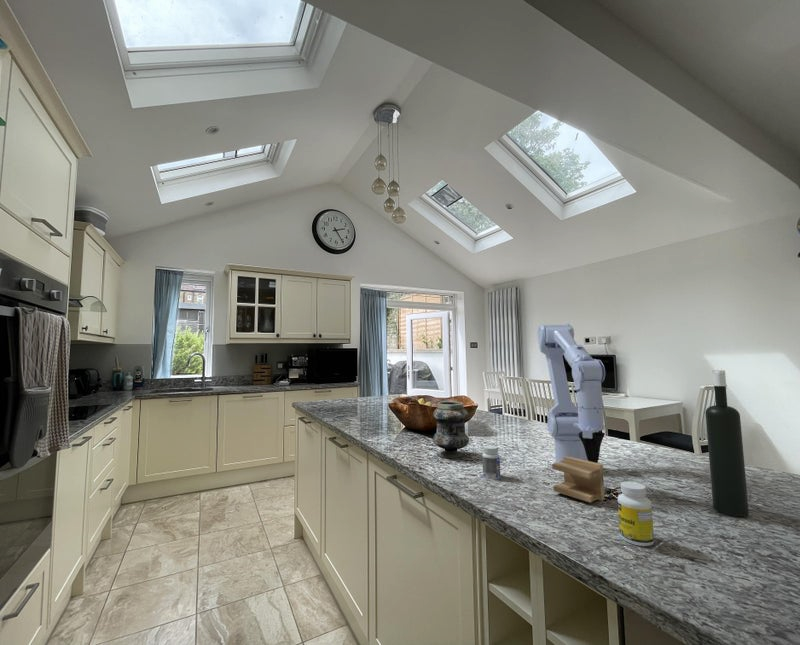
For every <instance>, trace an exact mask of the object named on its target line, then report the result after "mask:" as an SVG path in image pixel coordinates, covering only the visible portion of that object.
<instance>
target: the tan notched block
mask: <svg viewBox="0 0 800 645" xmlns="http://www.w3.org/2000/svg"><path fill="white" fill-rule="evenodd" d="M551 465H552V468H551V469H552V470H554V471H558V472H562V473H563V478H564V479H563V480H564V481H563V482H560V483H558V484H554V485H553V486H552V487H553V492H555V493H558V494H562V495H564V496H569V497H571V498H574V499H577V500H581V501H585V502H587V503H592V502H594V501H596V500H597V501H601V502H602V501H604V500H605V483H604V480H605V479H604V466H603V464H602V463H595V462H590V461H586V460H581V459H577V458H573V457H568V456H565V457H563V461H560V462H557V463H556V462H555V463H552V464H551Z"/></svg>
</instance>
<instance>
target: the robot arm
mask: <svg viewBox="0 0 800 645" xmlns="http://www.w3.org/2000/svg"><path fill="white" fill-rule="evenodd" d="M537 342H538V348H539V351H540V352H541V353H542V354H543V355H545V359H546V363H547V369H548V372H549V378H550V385H551V390H552V395H553V401H554V406H552V407H551V408H550V409H549V410H548V411H547V414H546V416H547V421H546V422H547V430H548V434H550V436H551V437H552V438H554V455H555V456H554V458H555V463H557V462H560V461H563V457H565V456H568V457H573V458H577V459H581V460H586V461H590V462H595V463H598V462H599V459H600V454H601V452H600V451H601V446H602V442H603V440H604V438H605V434H606V433H605V432H602V431H604V430H605V429H606V427H605V424H604V410H603V409H604V408H603V391H602V383H603V382H604V381H605V377H606V368H605V365H604V364H603V362H602V360H601V359H596V358H593V357H592V355H591V354H590V353H589V352H588V351H587V350H586V348H585V347H584V346H583V345H582V344H577V342H576V341H575V329H574V327H573V325H571V323H566V324H540V325H539V326H538V328H537ZM563 357H564V358H563ZM564 359H565V361H566V362H567V364H568V365H569V366H570V368H571V376H572V379H573V385H574V389H576V398H577V401H576V402H577V406H576V405H574V404H573V402H572V398H571V393H570V387H569V382H568V378H567V372H566V367H565V364H564ZM549 468H550V469H552V464H551V465H549Z"/></svg>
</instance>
